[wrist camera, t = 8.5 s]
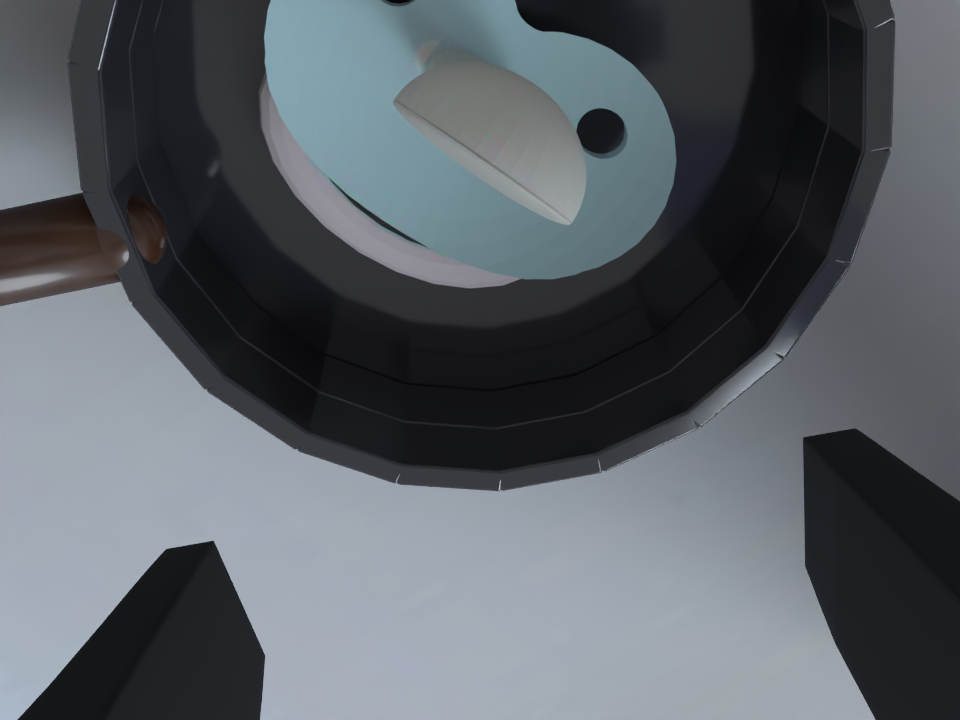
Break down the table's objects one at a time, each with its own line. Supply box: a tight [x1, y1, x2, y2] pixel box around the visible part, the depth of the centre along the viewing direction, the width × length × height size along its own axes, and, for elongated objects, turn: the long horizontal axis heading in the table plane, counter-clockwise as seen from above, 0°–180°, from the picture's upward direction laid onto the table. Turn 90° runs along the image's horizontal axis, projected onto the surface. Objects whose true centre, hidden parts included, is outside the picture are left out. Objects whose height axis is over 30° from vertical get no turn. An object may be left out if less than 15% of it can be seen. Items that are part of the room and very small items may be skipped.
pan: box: [68, 0, 895, 491], centre depth 16 cm, size 13×13×4 cm
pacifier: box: [259, 0, 676, 289], centre depth 15 cm, size 7×6×6 cm
